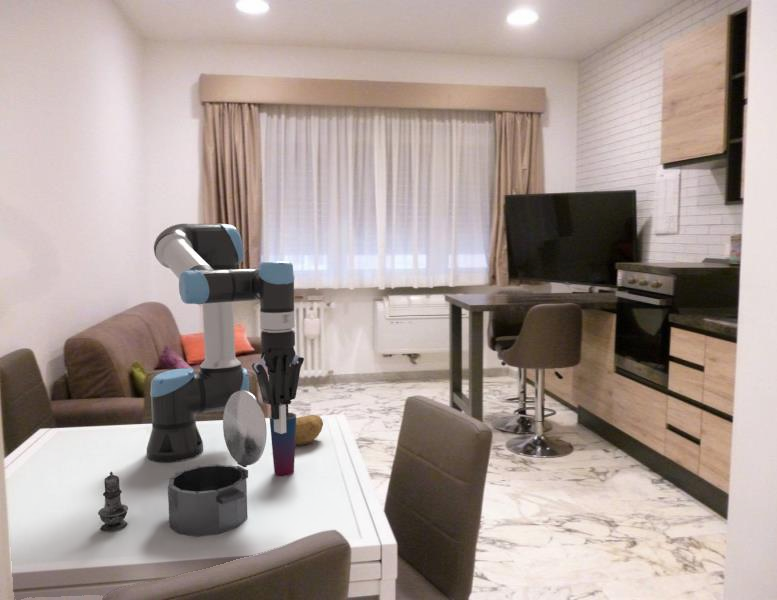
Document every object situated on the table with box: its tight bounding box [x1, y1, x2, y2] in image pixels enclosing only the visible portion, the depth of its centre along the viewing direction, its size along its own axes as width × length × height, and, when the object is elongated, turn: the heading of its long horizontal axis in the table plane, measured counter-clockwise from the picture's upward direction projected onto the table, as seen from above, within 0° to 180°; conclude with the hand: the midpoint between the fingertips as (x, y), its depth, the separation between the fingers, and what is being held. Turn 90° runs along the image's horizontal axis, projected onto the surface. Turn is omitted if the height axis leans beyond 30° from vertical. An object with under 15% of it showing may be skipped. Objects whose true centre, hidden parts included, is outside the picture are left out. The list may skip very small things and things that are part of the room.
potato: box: [295, 414, 324, 446], centre depth 183 cm, size 10×14×8 cm
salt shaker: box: [97, 471, 129, 533], centre depth 130 cm, size 6×6×12 cm
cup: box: [269, 411, 297, 477], centre depth 159 cm, size 7×7×15 cm
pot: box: [167, 463, 249, 537], centre depth 134 cm, size 20×17×9 cm
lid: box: [222, 391, 268, 468], centre depth 139 cm, size 17×17×3 cm
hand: (280, 431), depth 141 cm, fingers closed
